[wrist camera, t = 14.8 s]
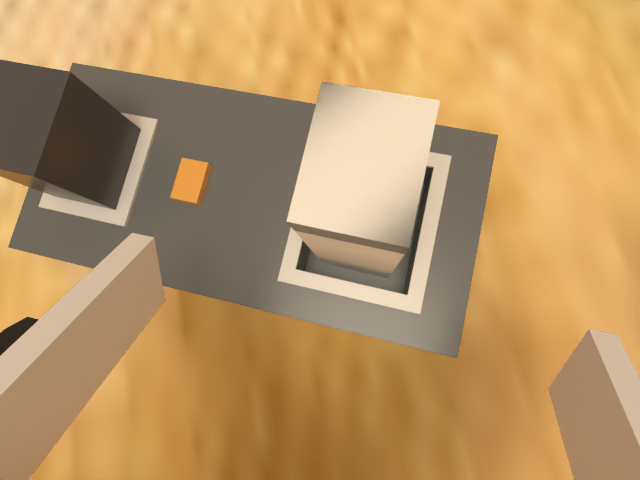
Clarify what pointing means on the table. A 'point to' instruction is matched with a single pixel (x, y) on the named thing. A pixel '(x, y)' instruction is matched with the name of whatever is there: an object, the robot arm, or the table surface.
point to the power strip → (227, 198)
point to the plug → (362, 176)
